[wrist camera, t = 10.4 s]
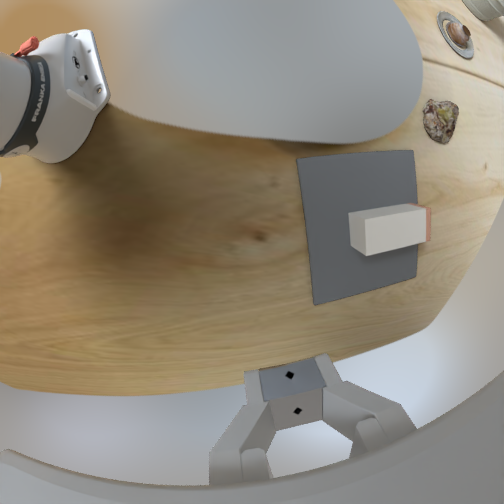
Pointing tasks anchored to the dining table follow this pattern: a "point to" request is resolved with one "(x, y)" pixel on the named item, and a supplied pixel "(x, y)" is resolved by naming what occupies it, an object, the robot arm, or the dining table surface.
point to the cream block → (389, 228)
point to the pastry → (456, 34)
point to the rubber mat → (337, 219)
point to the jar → (486, 8)
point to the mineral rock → (440, 119)
